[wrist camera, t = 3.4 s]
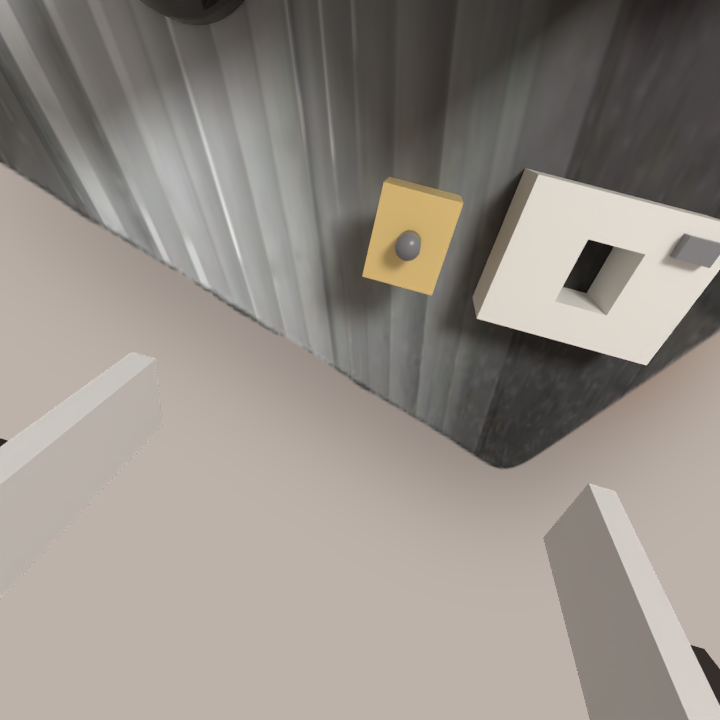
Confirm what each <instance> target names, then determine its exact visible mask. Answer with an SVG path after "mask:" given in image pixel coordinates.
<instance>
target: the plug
mask: <svg viewBox="0 0 720 720" xmlns="http://www.w3.org/2000/svg"><path fill="white" fill-rule="evenodd" d="M462 206H463V200H462V197H461V196H460V195H457V194H453V193H449V192H445V191H441V190H438V189H434V188H430V187H426V186H423V185H419V184H415V183H411V182H407V181H404V180H400V179H396V178H392V177H388V178H387V179H386V180H385V181H384V183H383V188H382V192H381V196H380V201H379V205H378V209H377V214H376V218H375V223H374V227H373V231H372V236H371V240H370V244H369V249H368V253H367V257H366V262H365V266H364V271H363V275H362V277H366V278H370V279H373V280H377V281H381V282H384V283H388V284H392V285H395V286H399V287H403V288H406V289H410V290H413V291H417V292H421V293H424V294H428V295H432V293H433V290H434V287H435V284H436V282H437V279H438V276H439V273H440V270H441V267H442V264H443V261H444V258H445V255H446V253H447V250H448V247H449V244H450V241H451V238H452V235H453V232H454V229H455V226H456V224H457V221H458V218H459V215H460V212H461V209H462Z"/></svg>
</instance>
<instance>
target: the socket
mask: <svg viewBox="0 0 720 720" xmlns="http://www.w3.org/2000/svg"><path fill="white" fill-rule="evenodd" d="M588 239H589V240H593V241H596V242H600V243H604V244H608V245H611V246H614V247H613V249H612V251H611V252H610V254H609V256H608V257H607V259H606V261H605V263H604V264H603V266H602V268H601V269H600V271H599V273H598V275H597V276H596V278H595V280H594V281H593V283H592V285H591V287H590V288H589V290H588V292H587V293H584V292H580V291H577V290H573V289H569V288H565V287H563V285H564V283H565V281H566V280H567V278H568V276H569V274H570V272H571V270H572V268H573V267H574V265H575V263H576V261H577V259H578V257H579V256H580V254H581V252H582V250H583V248H584V246H585V244H586V243H587V241H588ZM719 270H720V219H717V218H713V217H710V216H707V215H703V214H700V213H696V212H692V211H688V210H684V209H680V208H676V207H673V206H669V205H665V204H661V203H657V202H653V201H650V200H646V199H642V198H638V197H634V196H630V195H627V194H623V193H619V192H615V191H611V190H607V189H603V188H600V187H596V186H592V185H588V184H584V183H580V182H577V181H573V180H569V179H565V178H561V177H557V176H554V175H550V174H546V173H542V172H538V171H534V170H531V169H527V168H525V170H524V172H523V175H522V177H521V180H520V182H519V185H518V187H517V189H516V192H515V194H514V197H513V199H512V202H511V204H510V207H509V209H508V211H507V214H506V216H505V219H504V221H503V224H502V226H501V229H500V231H499V233H498V236H497V238H496V241H495V243H494V246H493V248H492V250H491V253H490V255H489V258H488V260H487V263H486V265H485V268H484V270H483V272H482V275H481V277H480V280H479V282H478V285H477V287H476V290H475V292H474V294H473V297H472V298H473V303H474V308H475V313H476V318H477V319H480V320H484V321H487V322H491V323H495V324H498V325H502V326H505V327H509V328H513V329H516V330H520V331H524V332H527V333H531V334H534V335H538V336H542V337H545V338H549V339H553V340H556V341H560V342H564V343H567V344H571V345H574V346H578V347H582V348H585V349H589V350H593V351H596V352H600V353H603V354H607V355H611V356H614V357H618V358H622V359H625V360H629V361H633V362H636V363H640V364H643V365H647V364H648V363H649V361H650V360H651V359H652V357H653V356H654V355H655V353H656V352H657V351H658V350H659V348H660V347H661V346H662V344H663V343H664V342H665V340H666V339H667V338H668V336H669V335H670V334H671V333H672V331H673V330H674V329H675V327H676V326H677V325H678V323H679V322H680V321H681V319H682V318H683V317H684V316H685V314H686V313H687V312H688V310H689V309H690V308H691V306H692V305H693V304H694V302H695V301H696V300H697V299H698V297H699V296H700V295H701V293H702V292H703V291H704V289H705V288H706V287H707V285H708V284H709V283H710V282H711V280H712V279H713V278H714V276H715V275H716V274H717V272H718V271H719Z"/></svg>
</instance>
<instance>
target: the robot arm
mask: <svg viewBox="0 0 720 720" xmlns="http://www.w3.org/2000/svg"><path fill="white" fill-rule="evenodd" d="M141 1H142V2H143V3H145V4H146V5H147V6H149V7H150V8H152V9H153V10H155V11H157V12H159V13H161V14H163V15H165V16H168V17H170V18H173V19H175V20H177V21H180V22H183V23H188V24H195V25H202V24H209V23H213V22H216V21H219V20H221V19H223V18H225V17H226V16H228V15H229V14H231V13H232V12H233V11H234V10H235V9H236V8H238V6H239V5H240V4H241V3H242V2H243V1H244V0H141ZM161 427H162V415H161V405H160V394H159V383H158V373H157V362H156V358H152V357H149V356H145V355H142V354H139V353H135V352H131V353H130V354H128V355H127V356H125V357H124V358H123V359H121V360H120V361H118V362H117V363H116V364H114V365H113V366H111V367H110V368H109V369H107V370H106V371H105V372H103V373H102V374H100V375H99V376H98V377H96V378H95V379H93V380H92V381H91V382H89V383H88V384H87V385H85V386H84V387H83V388H81V389H80V390H78V391H77V392H75V393H74V394H73V395H71V396H70V397H69V398H67V399H66V400H65V401H63V402H62V403H60V404H59V405H57V406H56V407H55V408H53V409H52V410H51V411H49V412H48V413H46V414H45V415H44V416H42V417H41V418H40V419H38V420H37V421H35V422H34V423H33V424H32V425H30V426H28V427H27V428H26V429H24V430H23V431H21V432H20V433H19V434H17V435H16V436H15V437H13V438H12V439H10V440H9V441H7V440H4V439H0V599H1V597H2V596H3V595H4V594H5V593H6V592H7V591H8V590H9V589H10V588H11V587H12V586H13V585H14V584H15V583H16V581H17V580H18V579H19V578H20V577H21V576H22V575H23V574H24V573H25V572H26V571H27V570H28V569H29V568H30V567H31V565H32V564H33V563H34V562H35V561H36V560H37V559H38V558H39V557H40V556H41V555H42V554H43V553H44V552H45V551H46V549H47V548H48V547H49V546H50V545H51V544H52V543H53V542H54V541H55V540H56V539H57V538H58V537H59V536H60V534H61V533H62V532H63V531H64V530H65V529H66V528H67V527H68V526H69V525H70V524H71V523H72V522H73V521H74V520H75V518H76V517H77V516H78V515H79V514H80V513H81V512H82V511H83V510H84V509H85V508H86V506H88V505H89V503H90V502H91V501H92V500H93V499H94V498H95V497H96V496H97V495H98V494H99V493H100V492H101V491H102V490H103V489H104V487H105V486H106V485H107V484H108V483H109V482H110V481H111V480H112V479H113V478H114V477H115V476H116V475H117V474H118V472H119V471H120V470H121V469H122V468H123V467H124V466H125V465H126V464H127V463H128V462H129V461H130V460H131V459H132V457H133V456H134V455H135V454H136V453H137V452H138V451H139V450H140V449H141V448H142V447H143V446H144V445H145V444H146V443H147V441H148V440H149V439H150V438H151V437H152V436H153V435H154V434H155V433H156V432H157V431H158V430H159V429H160V428H161ZM544 542H545V546H546V550H547V554H548V558H549V562H550V566H551V569H552V573H553V577H554V581H555V585H556V589H557V593H558V597H559V601H560V605H561V609H562V613H563V616H564V620H565V624H566V628H567V632H568V636H569V639H570V644H571V648H572V651H573V656H574V659H575V663H576V667H577V671H578V675H579V679H580V683H581V687H582V691H583V695H584V698H585V703H586V706H587V710H588V714H589V718H590V720H720V669H719V668H718V666H717V665H716V664H715V663H714V661H713V660H712V659H711V657H710V656H709V655H708V653H707V652H706V651H705V649H702V648H699V647H695V646H692V645H690V644H689V642H688V640H687V637H686V636H685V633H684V632H683V629H682V627H681V625H680V623H679V621H678V619H677V617H676V615H675V613H674V611H673V609H672V607H671V605H670V603H669V601H668V599H667V597H666V595H665V592H664V590H663V588H662V586H661V584H660V582H659V580H658V578H657V576H656V574H655V572H654V570H653V568H652V566H651V564H650V562H649V560H648V558H647V555H646V554H645V551H644V549H643V548H642V545H641V543H640V541H639V539H638V537H637V535H636V533H635V531H634V529H633V527H632V525H631V523H630V521H629V519H628V517H627V515H626V512H625V510H624V509H623V506H622V504H621V502H620V500H619V498H618V496H617V494H616V492H615V491H614V490H610V489H606V488H603V487H599V486H596V485H593V484H588V485H587V486H586V487H585V488H584V490H583V491H582V492H581V493H580V494H579V496H578V497H577V498H576V499H575V501H574V502H573V503H572V504H571V505H570V506H569V508H568V509H567V510H566V511H565V512H564V514H563V515H562V516H561V517H560V519H559V520H558V521H557V522H556V523H555V525H554V526H553V527H552V528H551V529H550V530H549V532H548V533H547V534H546V535H545V536H544Z"/></svg>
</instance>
